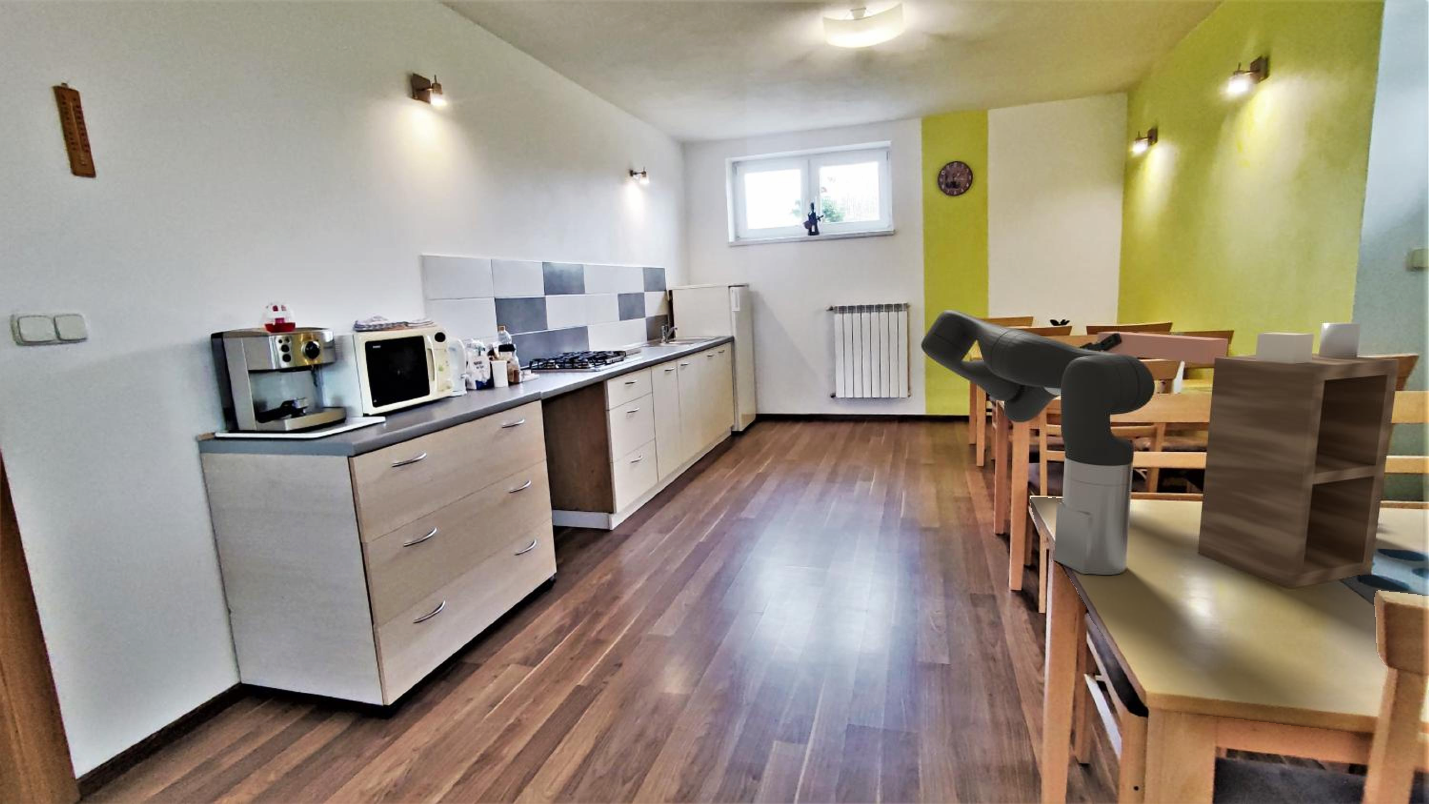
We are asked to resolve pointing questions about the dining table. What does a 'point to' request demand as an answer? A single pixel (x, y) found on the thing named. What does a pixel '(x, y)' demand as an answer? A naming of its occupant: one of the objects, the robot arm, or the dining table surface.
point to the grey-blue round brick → (1339, 340)
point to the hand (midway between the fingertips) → (1128, 336)
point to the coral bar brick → (1169, 347)
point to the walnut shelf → (1296, 466)
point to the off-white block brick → (1284, 347)
